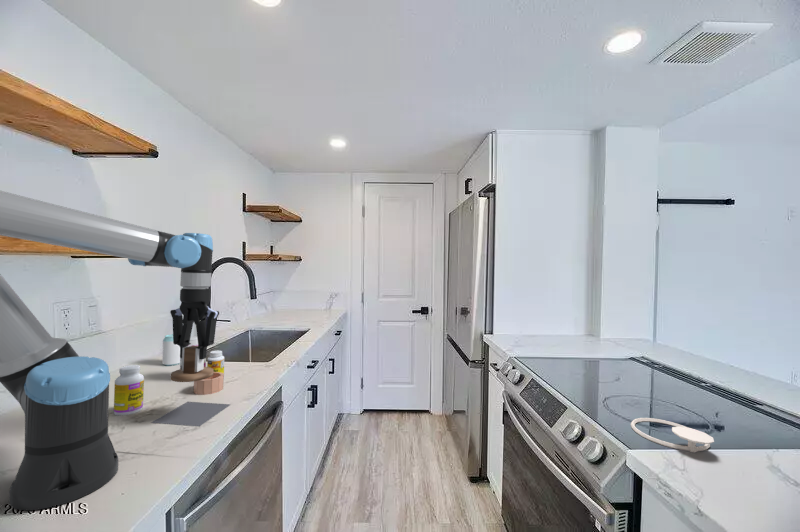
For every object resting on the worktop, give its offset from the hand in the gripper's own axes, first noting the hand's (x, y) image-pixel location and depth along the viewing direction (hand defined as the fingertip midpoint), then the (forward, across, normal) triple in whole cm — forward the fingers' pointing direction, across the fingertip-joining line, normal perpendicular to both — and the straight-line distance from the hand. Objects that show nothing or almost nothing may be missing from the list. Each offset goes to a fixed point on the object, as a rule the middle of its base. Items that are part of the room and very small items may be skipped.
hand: (192, 369), depth 96 cm
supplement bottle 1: (+13, +19, 0) cm, 23 cm away
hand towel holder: (+12, -132, -6) cm, 133 cm away
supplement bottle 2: (+13, +12, -28) cm, 33 cm away
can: (+13, +40, -43) cm, 60 cm away
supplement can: (+13, +21, -28) cm, 37 cm away
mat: (+13, 0, 0) cm, 13 cm away
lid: (+2, 0, 0) cm, 2 cm away
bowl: (+13, +7, -18) cm, 23 cm away
